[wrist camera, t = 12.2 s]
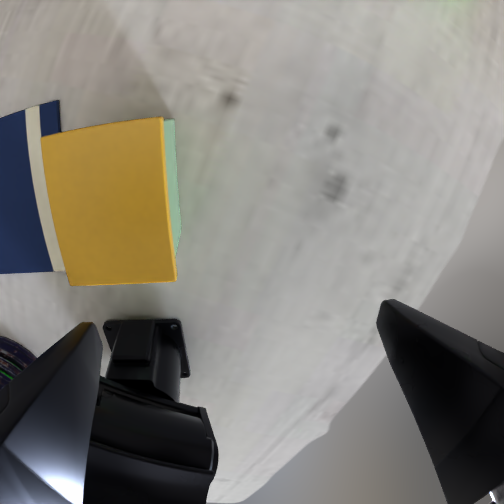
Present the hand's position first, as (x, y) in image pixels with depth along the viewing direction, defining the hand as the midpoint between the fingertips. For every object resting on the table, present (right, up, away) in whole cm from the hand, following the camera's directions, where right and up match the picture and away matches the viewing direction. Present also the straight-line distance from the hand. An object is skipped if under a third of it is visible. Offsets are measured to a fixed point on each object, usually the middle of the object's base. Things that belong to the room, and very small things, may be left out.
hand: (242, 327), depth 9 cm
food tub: (-7, +7, +9) cm, 13 cm away
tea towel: (-22, +6, +7) cm, 24 cm away
